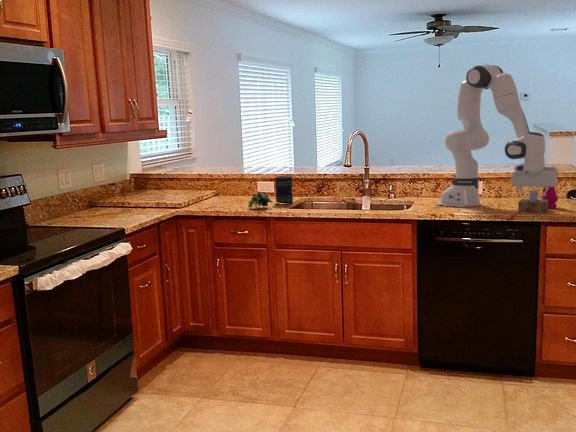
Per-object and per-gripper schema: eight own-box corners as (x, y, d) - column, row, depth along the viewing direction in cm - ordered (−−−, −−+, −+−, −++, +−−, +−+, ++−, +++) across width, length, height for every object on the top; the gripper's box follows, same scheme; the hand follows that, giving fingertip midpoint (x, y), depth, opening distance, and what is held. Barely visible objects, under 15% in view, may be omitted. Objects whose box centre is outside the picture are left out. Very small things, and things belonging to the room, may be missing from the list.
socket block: (518, 212, 286) (518, 201, 285) (521, 209, 294) (521, 198, 293) (545, 213, 280) (545, 202, 279) (547, 210, 288) (548, 199, 288)
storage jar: (282, 201, 351) (281, 176, 349) (296, 202, 346) (295, 176, 343) (272, 204, 344) (271, 178, 341) (286, 204, 338) (285, 178, 335)
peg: (529, 210, 289) (530, 189, 288) (537, 210, 288) (538, 190, 286) (528, 211, 286) (529, 190, 284) (536, 212, 284) (537, 191, 283)
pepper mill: (559, 208, 290) (560, 167, 287) (543, 209, 292) (544, 167, 288) (555, 206, 297) (557, 166, 294) (540, 206, 299) (541, 166, 295)
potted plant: (263, 217, 333) (275, 199, 332) (259, 216, 322) (271, 198, 321) (247, 205, 335) (259, 187, 334) (242, 205, 324) (254, 186, 323)
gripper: (559, 166, 281) (557, 195, 284) (512, 165, 291) (512, 194, 293) (557, 167, 276) (556, 197, 278) (510, 167, 286) (509, 196, 288)
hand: (533, 195), depth 286 cm, fingers open, 8 cm apart
